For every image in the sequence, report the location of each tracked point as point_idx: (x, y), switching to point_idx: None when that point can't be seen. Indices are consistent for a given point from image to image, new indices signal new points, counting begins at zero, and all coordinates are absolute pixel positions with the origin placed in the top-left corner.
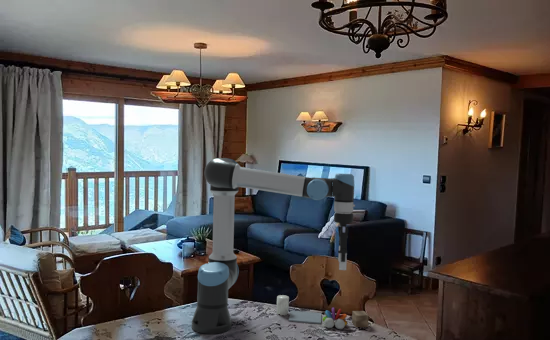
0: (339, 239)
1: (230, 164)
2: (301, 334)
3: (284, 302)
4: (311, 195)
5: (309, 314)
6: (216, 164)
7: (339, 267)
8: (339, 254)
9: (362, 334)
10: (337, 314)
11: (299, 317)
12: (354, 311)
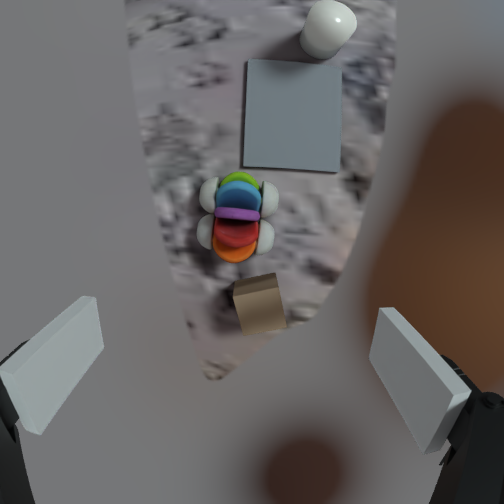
0: (473, 478)
1: None
2: (143, 109)
3: (308, 27)
4: None
5: (317, 127)
6: None
7: (73, 305)
8: (405, 348)
9: (185, 294)
10: (214, 228)
11: (279, 92)
12: (274, 294)
